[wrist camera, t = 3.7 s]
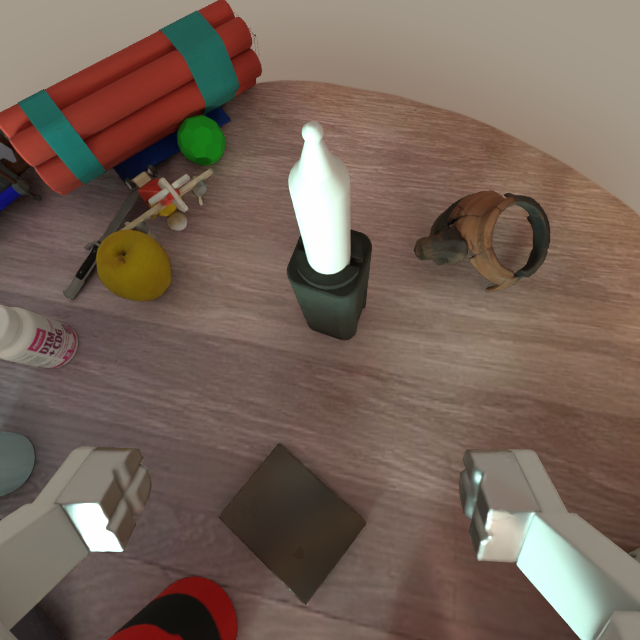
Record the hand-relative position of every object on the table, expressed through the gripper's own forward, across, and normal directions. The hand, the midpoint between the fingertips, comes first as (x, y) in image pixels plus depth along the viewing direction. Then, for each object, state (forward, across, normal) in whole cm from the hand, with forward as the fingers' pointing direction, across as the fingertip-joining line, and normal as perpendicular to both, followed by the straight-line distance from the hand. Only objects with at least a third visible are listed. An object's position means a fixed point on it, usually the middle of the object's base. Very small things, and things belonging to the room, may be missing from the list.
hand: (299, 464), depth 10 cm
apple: (+30, -19, -8) cm, 36 cm away
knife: (+34, -26, -4) cm, 43 cm away
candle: (+28, 0, -11) cm, 30 cm away
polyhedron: (+41, -14, +2) cm, 44 cm away
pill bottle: (+26, -29, -13) cm, 41 cm away
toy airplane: (+32, -18, +2) cm, 37 cm away
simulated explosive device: (+37, -19, +12) cm, 44 cm away
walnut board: (+14, -4, -24) cm, 28 cm away
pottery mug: (+32, +13, -7) cm, 35 cm away
